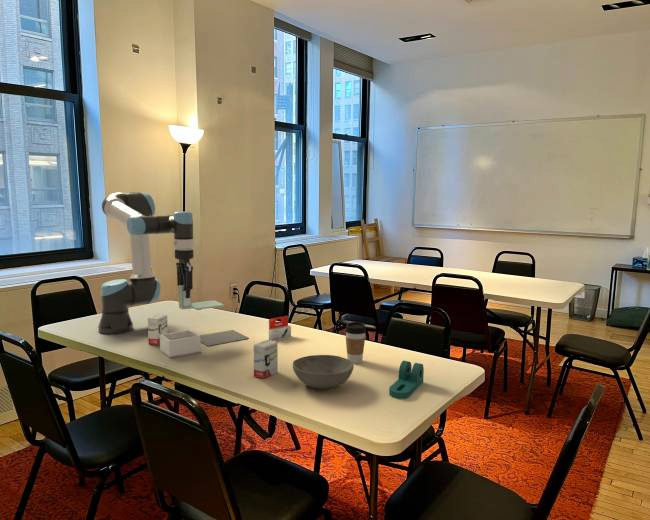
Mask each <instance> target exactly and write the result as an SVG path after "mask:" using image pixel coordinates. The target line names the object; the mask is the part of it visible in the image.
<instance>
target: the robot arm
mask: <svg viewBox="0 0 650 520" xmlns="http://www.w3.org/2000/svg"><path fill="white" fill-rule="evenodd" d="M101 210H102V212H103V214H104V215H105V216H106V217H108V218H109V219H114V220H116V221H118V222H120V223H122V224H124V225H125V226H126V230H127V231H128V233H129V238H130V240H129V241H130V242H129V243H130V252H131V267H132V269H131V271H132V274H131V276H130V277H129V281H128V280H127V279H125V278H121V279H114V280H113V279H112V280H108V281H106V282H103V284H101V287H100V299H101V301H100V303H101V304H100V306H101V317H100V320H99V323H98V327H97V328H98V329H97V330H98V333H101V334H105V335H115V334H116V335H117V334H123V333H128V332H130V331H132V330H133V329H134V324H133V320H132V317H131V315H130V312H129V307H134V306H140V305H149V304H153V303H156V302H157V301H158V300H159V298H160V296H161V284H160V281H159V279H157V278H156V275H155V274H153V272H152V260H151V259H152V258H151V245H150V235H159V234H160V235H161V234H162V235H163V234H174V235H173V239H174V240H173V244H174V249H175V250H174V259H175V260H178V262H175V263H176V264H175V265H176V275H177V276H176V282H177V284H176V285H177V286H178V285H184V289H183V293H184V306H188V305H191V303H192V294H191V295H190V290H191V291H192V290H193V287H194V286H193V280H194V279H193V270H194V266H193V265H192V264H191V262H190V260H192V259H194V218H193V217H194V216H193V213H192V212H191V211H175V212H174V213H173V214H167V215H155V214H156V205H155V200H154V199H153V197H152V196H151V194H149V193H147V192H140V191H139V192H119V191H118V192H112V193H111V194H109V195H106V196H105V198H104V199H103V201H102V202H101Z"/></svg>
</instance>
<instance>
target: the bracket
mask: <svg viewBox="0 0 650 520" xmlns="http://www.w3.org/2000/svg"><path fill="white" fill-rule="evenodd" d="M424 373H425V369H424V364H423V363H418V362H414V364H413V366H412V362H411V361H408V360H402V361H401V363H400V366H399V369H398V378H397V380H396V381H395V382H394V383H392V384H391V385H390V386H389V387H388V390H389V391H388V395H389V397H391V398H393V399H397V400H398V399H399V400H403V399H407V398H410V396H411V395H412V394H413V393H414V392H415V391H416V390H417V389H418V388H420V386H421V385H422V384H423V383H424Z"/></svg>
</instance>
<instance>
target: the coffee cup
mask: <svg viewBox="0 0 650 520" xmlns="http://www.w3.org/2000/svg"><path fill="white" fill-rule="evenodd" d="M344 329H345V330H344V332H345V345H346V348H345V349H346V359H348V360H350V361H351V362H352V363H353V365H356V364H357V365H358V364H361V363H363V358H364V349H365V344H366V343H365V340H366V332H367V329H366V325H365V323H363V322H359V321H353V322H349V323H347V324H346V327H345V328H344Z"/></svg>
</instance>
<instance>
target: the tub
mask: <svg viewBox="0 0 650 520" xmlns="http://www.w3.org/2000/svg"><path fill="white" fill-rule="evenodd" d="M201 344H202V343H201V341H200V334H198V333H197V332H194V330H191V329H187V330H180V331H174V332H168V333H166V334H160V344H159V349H160V350H159V351H160V353H162V354H163V355H165V356H166V357H168V358H169V359H172V358H178V357H184V356H188V355H194V354H199V353H201V349H202V348H201V346H202V345H201Z"/></svg>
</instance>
